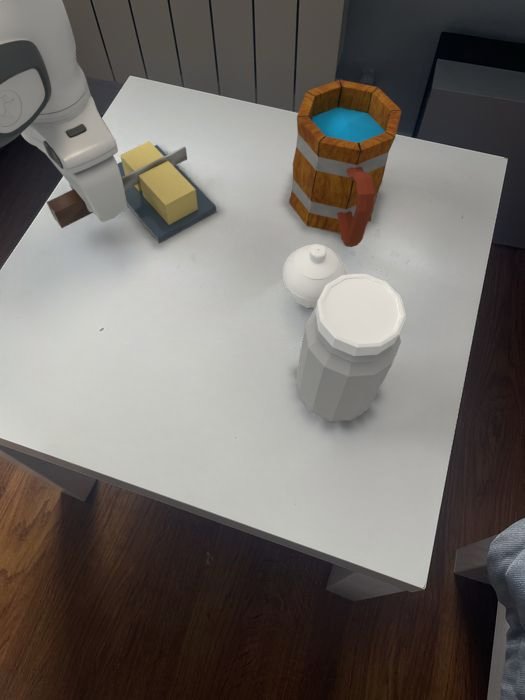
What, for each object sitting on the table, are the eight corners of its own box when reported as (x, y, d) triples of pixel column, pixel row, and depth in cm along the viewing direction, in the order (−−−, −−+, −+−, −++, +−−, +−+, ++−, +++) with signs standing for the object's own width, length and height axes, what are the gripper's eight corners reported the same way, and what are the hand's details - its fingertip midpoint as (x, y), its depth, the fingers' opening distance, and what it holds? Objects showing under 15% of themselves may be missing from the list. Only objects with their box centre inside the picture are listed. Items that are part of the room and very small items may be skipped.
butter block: (169, 225, 76) (165, 205, 73) (142, 195, 79) (138, 175, 75) (198, 209, 78) (195, 189, 74) (171, 181, 80) (168, 160, 77)
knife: (61, 228, 73) (54, 213, 70) (53, 217, 73) (46, 202, 71) (191, 163, 79) (189, 147, 76) (182, 154, 80) (180, 137, 77)
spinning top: (269, 295, 72) (273, 235, 62) (320, 276, 74) (332, 216, 64) (294, 340, 69) (303, 286, 59) (346, 320, 71) (364, 263, 60)
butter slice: (139, 191, 79) (134, 171, 76) (125, 176, 81) (119, 154, 77) (167, 177, 81) (164, 156, 77) (153, 162, 82) (149, 140, 79)
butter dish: (159, 243, 76) (157, 237, 75) (102, 177, 82) (100, 171, 81) (216, 211, 79) (216, 206, 78) (158, 150, 85) (156, 144, 84)
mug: (282, 170, 84) (289, 82, 71) (367, 164, 85) (389, 76, 72) (302, 271, 74) (314, 192, 61) (397, 263, 75) (428, 183, 62)
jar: (278, 391, 66) (288, 312, 50) (326, 339, 69) (349, 249, 53) (343, 441, 63) (375, 374, 47) (389, 384, 66) (433, 303, 51)
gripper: (-11, 74, 64) (30, 165, 76) (71, 174, 56) (103, 257, 68) (38, 55, 66) (71, 146, 78) (124, 149, 58) (145, 234, 70)
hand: (86, 199), depth 73 cm, fingers closed on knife, 2 cm apart
